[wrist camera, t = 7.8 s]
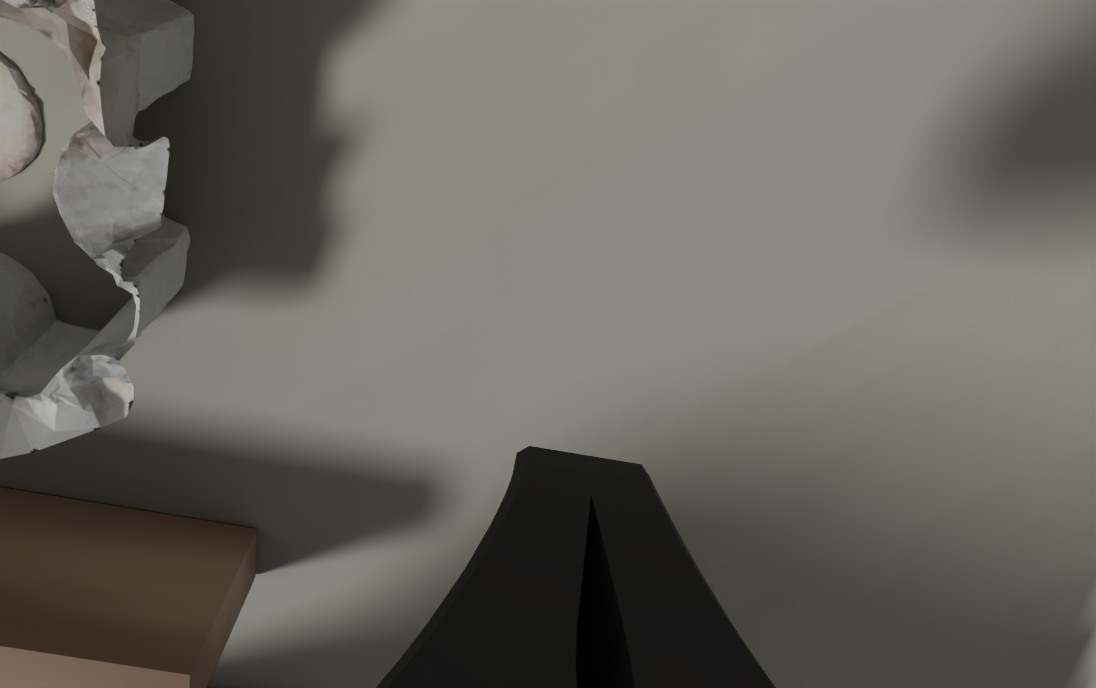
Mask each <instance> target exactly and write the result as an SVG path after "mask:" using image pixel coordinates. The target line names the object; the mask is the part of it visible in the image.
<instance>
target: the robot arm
mask: <svg viewBox="0 0 1096 688" xmlns="http://www.w3.org/2000/svg"><path fill="white" fill-rule="evenodd" d="M376 688H775V686H774V685H773V683H772V682H771V681H770V679H769V678H768V676H767V675H766V673H765V672H764V670H763V669H762V668H761V666H760V665H759V663H758V662H757V660H756V659H755V657H754V656H753V655H752V653H751V652H750V650H749V649H748V647H747V646H746V644H745V643H744V641H743V640H742V638H741V637H740V635H739V634H738V632H737V631H736V629H735V628H734V626H733V625H732V623H731V621H730V620H729V618H728V617H727V615H726V613H725V612H724V610H723V609H722V607H721V605H720V604H719V602H718V600H717V599H716V597H715V595H714V594H713V592H712V590H711V589H710V587H709V586H708V584H707V582H706V581H705V579H704V577H703V576H702V574H701V572H700V571H699V569H698V567H697V565H696V564H695V562H694V560H693V558H692V557H691V555H690V553H689V551H688V550H687V548H686V546H685V544H684V542H683V540H682V539H681V537H680V535H679V533H678V531H677V529H676V528H675V526H674V524H673V522H672V520H671V518H670V516H669V514H668V512H667V510H666V509H665V507H664V505H663V503H662V501H661V499H660V497H659V495H658V493H657V491H656V489H655V487H654V485H653V483H652V481H651V479H650V477H649V475H648V473H647V472H646V470H645V469H644V468H643V466H642V465H641V464H635V463H629V462H623V461H617V460H611V459H605V458H599V457H593V456H586V455H580V454H574V453H568V452H562V451H556V450H550V449H544V448H538V447H532V446H529V447H527V448H525V449H523V450H522V451H520V452H518V453H517V455H516V460H515V465H514V470H513V475H512V478H511V481H510V484H509V486H508V489H507V491H506V494H505V496H504V498H503V501H502V503H501V505H500V507H499V509H498V511H497V513H496V515H495V517H494V519H493V521H492V523H491V525H490V527H489V528H488V530H487V532H486V534H485V535H484V537H483V539H482V541H481V542H480V544H479V546H478V548H477V549H476V551H475V553H474V555H473V556H472V558H471V560H470V562H469V563H468V565H467V566H466V568H465V570H464V571H463V573H462V574H461V576H460V577H459V579H458V580H457V582H456V583H455V584H454V586H453V587H452V589H451V590H450V592H449V593H448V595H447V596H446V598H445V599H444V600H443V602H442V603H441V605H440V606H439V608H438V609H437V611H436V612H435V613H434V615H433V616H432V618H431V619H430V621H429V622H428V623H427V625H426V626H425V628H424V629H423V630H422V631H421V633H420V634H419V635H418V637H417V638H416V639H415V641H414V642H413V643H412V644H411V646H410V647H409V648H408V650H407V651H406V652H405V653H404V655H403V656H402V657H401V658H400V660H399V661H398V662H397V663H396V665H395V666H394V667H393V668H392V669H391V670H390V672H389V673H388V674H387V675H386V676H385V678H384V679H383V680H382V681H381V682H380V684H379V685H378V686H377V687H376Z"/></svg>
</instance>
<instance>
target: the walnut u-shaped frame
mask: <svg viewBox="0 0 1096 688" xmlns="http://www.w3.org/2000/svg"><path fill="white" fill-rule="evenodd" d="M256 549H257V529H253V528H247V527H241V526H235V525H229V524H223V523H217V522H210V521H204V520H198V519H192V518H186V517H180V516H174V515H167V514H161V513H155V512H149V511H143V510H137V509H131V508H124V507H118V506H112V505H106V504H100V503H94V502H88V501H81V500H75V499H69V498H63V497H57V496H51V495H45V494H38V493H32V492H26V491H20V490H14V489H8V488H2V487H0V688H207V686H208V684H209V681H210V679H211V677H212V675H213V672H214V670H215V668H216V665H217V663H218V661H219V659H220V656H221V654H222V652H223V649H224V647H225V645H226V643H227V640H228V638H229V636H230V633H231V631H232V629H233V627H234V624H235V622H236V620H237V617H238V615H239V613H240V611H241V608H242V606H243V604H244V601H245V599H246V597H247V595H248V592H249V590H250V588H251V585H252V583H253V581H254V579H255V572H256Z"/></svg>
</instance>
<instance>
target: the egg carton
mask: <svg viewBox="0 0 1096 688" xmlns="http://www.w3.org/2000/svg"><path fill="white" fill-rule="evenodd" d="M0 17H3V18H6V19H9V20H11V21H13V22H16V23H18V24H21V25H23V26H26V27H28V28H30V29H33V30H35V31H38V32H40V33H41V34H43V35H44V36H46V37H48V38H49V39H50V40H51V41H53V42H54V43H55V44H56V45H58V46H59V47H60V48H61V49H62V51H63V52H64V54H65V56H66V58H67V60H68V61H69V63H70V65H71V67H72V69H73V70H74V72H75V74H76V76H77V78H78V80H79V82H80V87H81V93H82V99H83V104H84V109H85V113H86V115H87V116H88V117H89V119H90V120H91V121H92V122H90V123H89V124H87V125H86V126H84V127H83V128H82V129H80V130H79V131H77V132H76V133H75V134H73V136H72V137H71V138H70V139H69V141H68V142H67V143H66V144H65V146H64V147H63V150H62V153H61V156H60V159H59V163H58V165H57V167H56V169H55V170H54V179H53V195H54V198H55V201H56V204H57V207H58V211H59V213H60V215H61V217H62V219H63V221H64V223H65V225H66V227H67V229H68V231H69V232H70V234H71V236H72V238H73V240H74V242H75V243H76V244H77V245H78V246H80V247H81V248H82V249H83V250H84V251H85V252H86V253H87V254H88V255H89V256H90V257H91V259H93V260H94V261H95V262H96V265H98V266H99V267H101V268H103V269H104V270H106V271H108V272H109V273H111V274H112V275H113V277H114V279H115V281H116V284H117V286H119V287H121V288H123V289H125V290H127V291H128V292H130V293H132V294H133V297H132V298H131V299H130V300H129V301H128V302H127V303H126V304H125V305H124V306H123V307H122V308H121V309H120V310H119V311H118V313H117V314H116V315H115V316H114V317H113V318H112V319H111V320H110V321H109V322H108V324H107V325H106V326H105V327H104V328H103V329H102V330H101V331H99V330H93V329H87V328H82V327H77V326H74V325H70V324H67V323H64V322H61V321H58V320H56V316H55V312H54V309H53V305H52V302H51V298H50V297H49V295H48V294H47V292H46V290H45V289H44V288H43V286H42V285H41V283H40V282H39V281H38V279H37V278H36V277H35V276H34V275H33V274H32V273H31V272H30V271H29V270H28V269H27V268H25V267H24V266H23V265H22V264H21V263H19V262H17V261H16V260H14V259H13V258H11V257H9V256H8V255H6V254H4V253H2V252H0V459H2V458H7V457H12V456H17V455H22V454H27V453H32V452H35V451H38V450H41V449H44V448H47V447H49V446H52V445H55V444H58V443H60V442H63V441H66V440H69V439H71V438H74V437H77V436H80V435H83V434H85V433H88V432H91V431H94V430H96V429H99V428H102V427H104V426H107V425H110V424H112V423H115V422H117V421H120V420H122V419H125V418H126V416H127V414H128V412H129V410H130V407H131V405H132V403H133V401H134V386H133V385H132V383H131V381H130V379H129V376H128V373H127V371H126V370H125V369H124V368H123V367H121V366H120V365H119V363H120V359H121V358H122V357H123V356H124V355H125V353H126V352H127V351H128V350H129V349H130V348H131V347H132V346H133V345H134V342H135V338H137V337H139V336H140V334H141V332H142V331H143V330H144V329H145V328H146V327H147V326H148V325H149V324H150V323H151V322H152V321H153V320H154V319H156V318H157V317H158V316H159V314H160V313H161V312H162V310H163V309H164V307H165V306H166V305H167V303H168V302H169V301H170V300H171V299H172V298H173V297H174V296H175V295H176V294H177V293H178V292H179V290H180V289H181V287H182V285H183V284H184V278H185V271H186V264H187V251H188V248H189V245H190V235H189V232H188V229H187V227H186V226H184V225H182V224H180V223H177V222H175V221H173V220H170V219H168V218H166V217H165V216H163V215H162V211H163V208H164V194H165V187H166V181H167V171H168V160H169V150H170V145H169V140H168V138H166V137H161V138H158V139H155V140H153V141H145V140H137V139H136V138H134V137H133V131H134V124H135V117H136V115H137V114H138V112H140V111H142V110H145V109H146V108H147V107H148V106H149V105H150V104H152V103H153V102H154V101H155V100H157V99H158V98H159V97H161V96H163V95H165V94H167V93H169V92H171V91H173V90H175V89H176V88H177V87H178V86H179V85H181V84H182V83H184V82H186V81H188V80H190V76H191V71H192V64H193V40H194V15H193V14H192V13H191V12H190V11H189V10H187V9H186V8H184V7H182V6H180V5H178V4H176V3H175V2H173V1H171V0H0ZM42 130H43V123H42V118H41V114H40V109H39V106H38V102H37V101H36V99H35V97H34V96H33V95H32V94H31V90H30V88H29V86H28V85H27V83H26V81H25V80H24V78H23V77H22V75H21V73H20V72H19V70H18V69H17V68H16V67H15V66H13V65H12V64H11V63H9V62H8V61H7V60H6V59H5V58H4V57H3V56H2V55H1V54H0V181H3V180H7V179H9V178H10V177H12V176H13V175H15V174H17V173H18V172H20V171H21V170H23V169H24V168H25V167H26V166H27V165H28V164H29V163H30V162H31V161H32V160H33V159H34V158H35V157H36V155H37V153H38V151H39V149H40V147H41V143H42Z"/></svg>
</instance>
